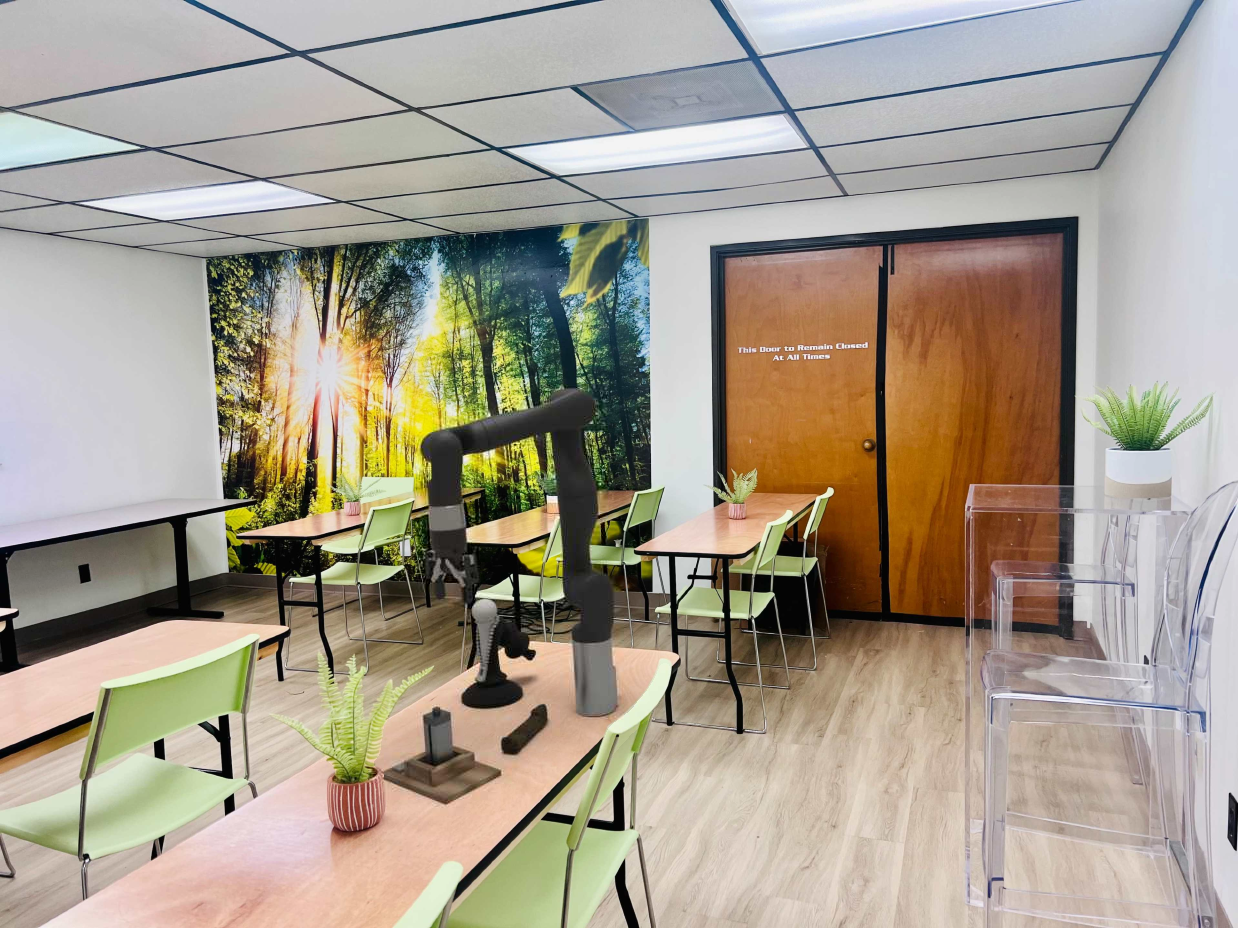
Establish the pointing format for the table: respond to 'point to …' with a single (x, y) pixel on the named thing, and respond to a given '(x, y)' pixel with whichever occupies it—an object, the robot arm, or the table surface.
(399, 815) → the table surface
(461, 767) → the stand
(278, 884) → the table surface
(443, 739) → the grey square peg
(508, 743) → the dark wooden branch
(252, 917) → the table surface
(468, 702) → the sculpture
